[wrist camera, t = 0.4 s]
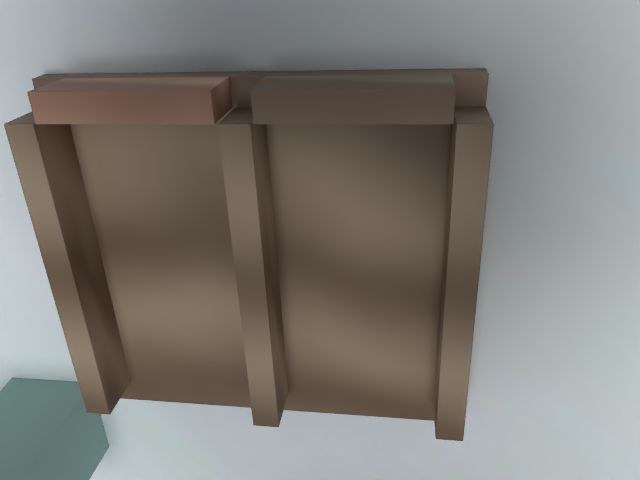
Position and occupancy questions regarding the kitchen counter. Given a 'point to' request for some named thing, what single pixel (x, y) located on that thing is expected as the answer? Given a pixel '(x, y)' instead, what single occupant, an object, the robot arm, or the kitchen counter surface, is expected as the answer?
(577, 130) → the kitchen counter surface
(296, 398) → the divided brown tray
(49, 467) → the green block
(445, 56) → the kitchen counter surface
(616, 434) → the kitchen counter surface
